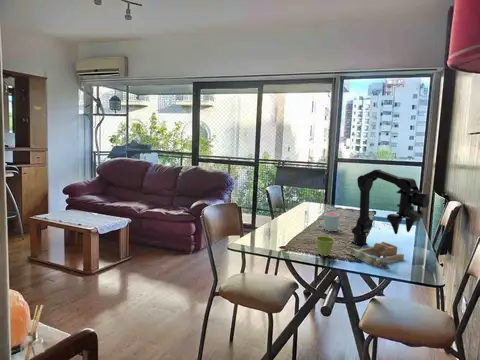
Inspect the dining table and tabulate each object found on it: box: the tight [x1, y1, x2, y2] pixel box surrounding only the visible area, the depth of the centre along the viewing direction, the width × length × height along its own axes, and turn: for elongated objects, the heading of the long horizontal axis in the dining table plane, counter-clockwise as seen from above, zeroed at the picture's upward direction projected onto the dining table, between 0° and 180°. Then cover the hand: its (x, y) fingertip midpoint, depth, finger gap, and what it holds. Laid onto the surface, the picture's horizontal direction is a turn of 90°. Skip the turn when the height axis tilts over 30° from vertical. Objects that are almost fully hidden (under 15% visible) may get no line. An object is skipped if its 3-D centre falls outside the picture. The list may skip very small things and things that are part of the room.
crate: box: [372, 241, 398, 258], centre depth 190 cm, size 8×8×6 cm
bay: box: [350, 246, 405, 267], centre depth 188 cm, size 15×22×4 cm
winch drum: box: [376, 253, 390, 270], centre depth 174 cm, size 4×4×7 cm
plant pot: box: [315, 235, 335, 256], centre depth 188 cm, size 9×9×9 cm
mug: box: [316, 212, 340, 232], centre depth 236 cm, size 14×9×10 cm
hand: (401, 233), depth 187 cm, fingers open, 9 cm apart
